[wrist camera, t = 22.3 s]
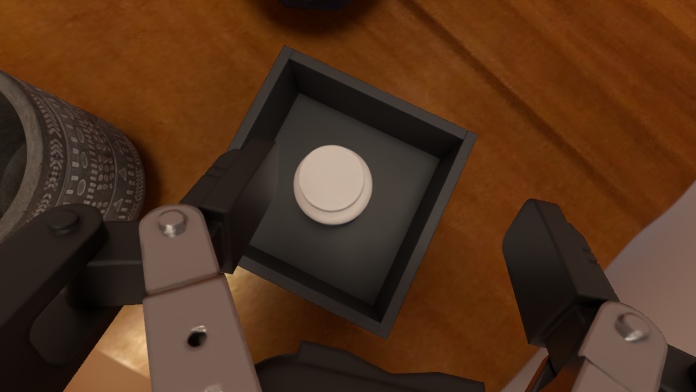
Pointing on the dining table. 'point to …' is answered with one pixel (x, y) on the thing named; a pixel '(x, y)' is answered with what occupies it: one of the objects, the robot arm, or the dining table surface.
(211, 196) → the robot arm
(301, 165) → the pill bottle
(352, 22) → the dining table surface
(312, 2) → the decorative orb
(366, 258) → the bin
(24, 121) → the planter
